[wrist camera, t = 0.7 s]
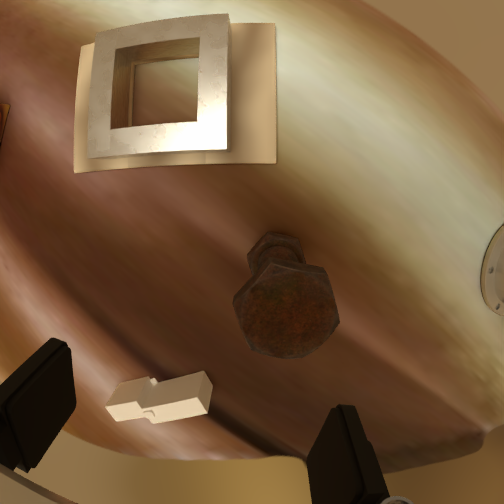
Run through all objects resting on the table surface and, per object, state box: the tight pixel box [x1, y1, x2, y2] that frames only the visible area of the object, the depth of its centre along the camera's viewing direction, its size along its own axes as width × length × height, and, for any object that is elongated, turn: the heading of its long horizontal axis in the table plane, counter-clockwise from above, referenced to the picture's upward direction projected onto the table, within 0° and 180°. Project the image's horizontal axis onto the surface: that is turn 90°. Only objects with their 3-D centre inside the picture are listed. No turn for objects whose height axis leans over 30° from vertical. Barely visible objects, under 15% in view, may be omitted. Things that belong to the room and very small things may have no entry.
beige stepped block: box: [105, 371, 213, 424], centre depth 33 cm, size 15×11×6 cm
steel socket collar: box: [87, 14, 232, 159], centre depth 24 cm, size 12×12×4 cm
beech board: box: [74, 23, 276, 173], centre depth 27 cm, size 20×14×1 cm
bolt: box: [233, 232, 340, 359], centre depth 23 cm, size 6×5×15 cm
